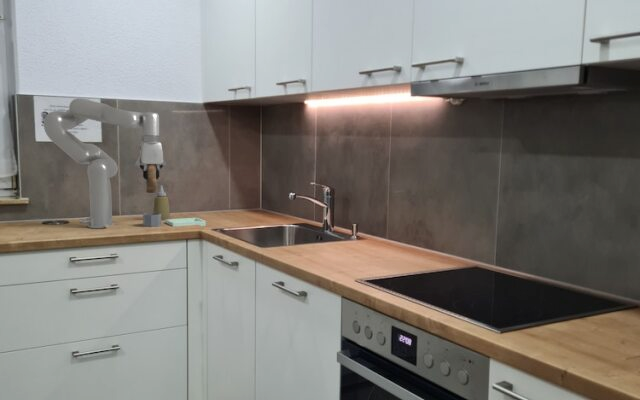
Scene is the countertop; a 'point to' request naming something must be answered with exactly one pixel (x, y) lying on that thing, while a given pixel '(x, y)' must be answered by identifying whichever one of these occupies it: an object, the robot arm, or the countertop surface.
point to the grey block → (152, 220)
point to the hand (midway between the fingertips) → (151, 178)
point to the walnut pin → (151, 178)
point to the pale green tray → (186, 222)
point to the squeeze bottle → (161, 204)
